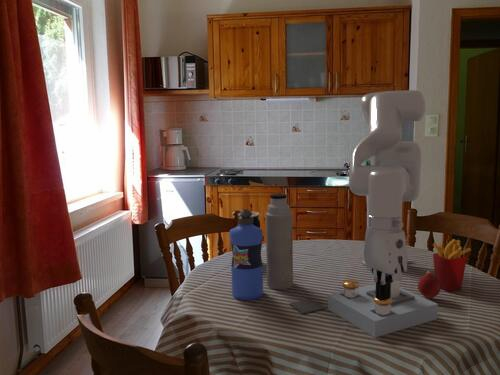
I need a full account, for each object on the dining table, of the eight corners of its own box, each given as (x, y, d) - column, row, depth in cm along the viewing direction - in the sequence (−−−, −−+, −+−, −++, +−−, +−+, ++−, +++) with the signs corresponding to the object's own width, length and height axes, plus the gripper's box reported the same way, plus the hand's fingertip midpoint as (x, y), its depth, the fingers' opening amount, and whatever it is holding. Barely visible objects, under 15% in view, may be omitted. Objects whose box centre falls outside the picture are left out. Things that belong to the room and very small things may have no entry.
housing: (385, 294, 128) (386, 278, 127) (437, 319, 112) (437, 300, 111) (328, 309, 119) (328, 291, 118) (374, 337, 103) (375, 318, 102)
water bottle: (252, 302, 124) (250, 214, 121) (225, 296, 129) (222, 211, 126) (269, 291, 132) (268, 208, 128) (242, 286, 137) (240, 205, 133)
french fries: (430, 285, 134) (432, 236, 132) (452, 281, 137) (454, 233, 134) (453, 296, 126) (455, 244, 123) (476, 292, 128) (478, 241, 126)
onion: (439, 296, 126) (440, 268, 125) (440, 304, 120) (441, 275, 119) (417, 294, 128) (418, 267, 127) (417, 302, 122) (418, 273, 121)
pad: (310, 299, 125) (310, 298, 125) (325, 308, 119) (325, 307, 119) (289, 304, 122) (289, 303, 122) (303, 314, 116) (303, 312, 116)
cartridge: (390, 306, 120) (391, 252, 118) (403, 313, 116) (404, 256, 113) (376, 310, 118) (377, 254, 116) (389, 317, 114) (390, 259, 111)
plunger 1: (351, 302, 121) (351, 278, 120) (361, 308, 117) (362, 283, 116) (339, 306, 119) (339, 281, 118) (349, 311, 116) (349, 286, 115)
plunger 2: (382, 319, 111) (383, 293, 110) (395, 326, 107) (396, 299, 106) (369, 323, 109) (370, 296, 108) (381, 330, 105) (382, 302, 104)
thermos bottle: (294, 280, 141) (293, 192, 137) (291, 290, 133) (290, 196, 129) (269, 279, 142) (267, 192, 138) (265, 288, 135) (263, 196, 131)
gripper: (421, 227, 99) (419, 306, 102) (375, 215, 112) (373, 285, 115) (395, 231, 96) (393, 313, 98) (351, 218, 109) (350, 291, 112)
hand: (383, 298), depth 107 cm, fingers closed
